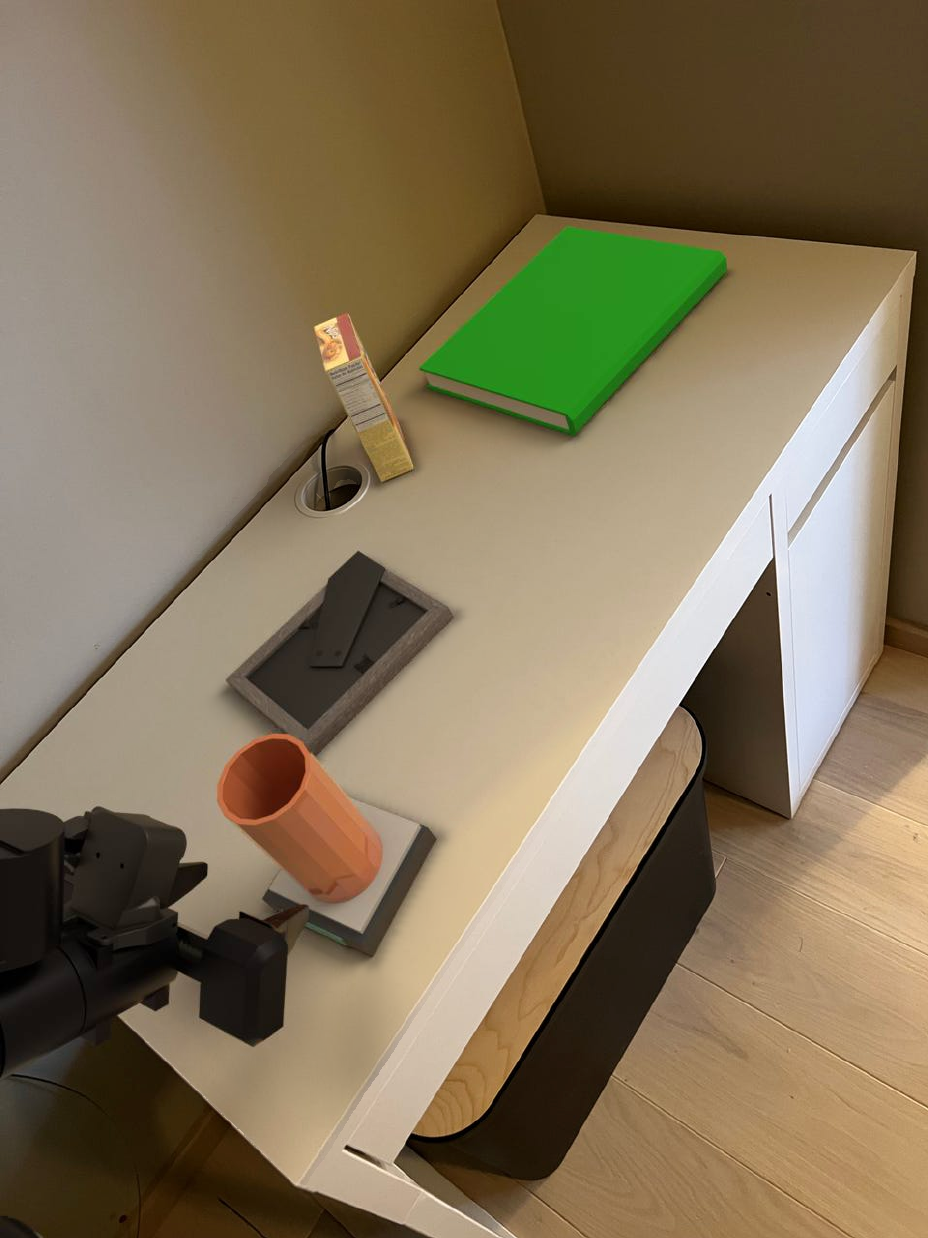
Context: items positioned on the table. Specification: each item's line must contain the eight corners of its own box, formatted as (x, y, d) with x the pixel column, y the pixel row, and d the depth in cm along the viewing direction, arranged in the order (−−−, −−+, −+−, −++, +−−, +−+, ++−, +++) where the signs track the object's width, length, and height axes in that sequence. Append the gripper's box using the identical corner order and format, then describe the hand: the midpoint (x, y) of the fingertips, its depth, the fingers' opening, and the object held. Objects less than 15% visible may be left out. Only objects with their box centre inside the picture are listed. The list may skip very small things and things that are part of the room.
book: (427, 388, 112) (418, 367, 110) (572, 247, 121) (566, 226, 119) (577, 437, 99) (571, 415, 97) (728, 275, 108) (725, 251, 106)
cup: (302, 914, 72) (216, 837, 62) (298, 834, 76) (217, 751, 67) (387, 888, 71) (312, 807, 61) (378, 809, 75) (308, 721, 66)
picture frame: (365, 563, 97) (233, 689, 92) (358, 550, 96) (223, 677, 91) (453, 617, 89) (313, 758, 84) (446, 603, 88) (303, 746, 82)
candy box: (367, 438, 110) (310, 326, 99) (401, 423, 110) (347, 309, 99) (381, 484, 104) (322, 371, 93) (417, 468, 104) (362, 354, 93)
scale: (371, 959, 71) (357, 947, 69) (271, 911, 76) (256, 898, 74) (436, 838, 75) (425, 823, 73) (338, 800, 80) (325, 785, 78)
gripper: (178, 909, 46) (374, 815, 59) (-51, 803, 55) (163, 743, 69) (170, 1115, 48) (361, 980, 61) (-49, 980, 57) (158, 888, 71)
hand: (254, 889), depth 65 cm, fingers open, 9 cm apart
